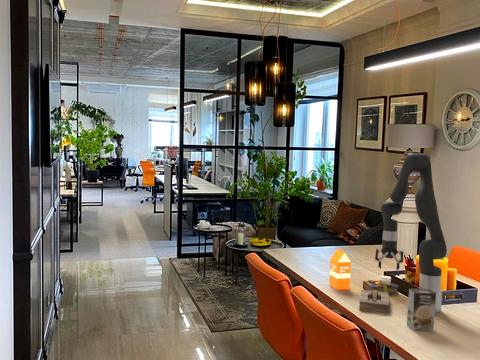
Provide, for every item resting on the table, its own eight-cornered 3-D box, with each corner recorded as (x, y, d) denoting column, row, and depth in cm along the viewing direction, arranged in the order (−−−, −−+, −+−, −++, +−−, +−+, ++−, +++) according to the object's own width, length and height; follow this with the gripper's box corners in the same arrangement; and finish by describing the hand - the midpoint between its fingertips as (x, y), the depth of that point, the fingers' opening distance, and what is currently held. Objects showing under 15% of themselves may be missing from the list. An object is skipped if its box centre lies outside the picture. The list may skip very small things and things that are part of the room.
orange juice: (336, 289, 250) (338, 252, 248) (329, 284, 258) (330, 248, 257) (349, 288, 252) (351, 251, 250) (342, 284, 260) (343, 248, 259)
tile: (380, 279, 255) (381, 275, 255) (390, 280, 254) (390, 276, 254) (380, 284, 246) (380, 280, 246) (390, 285, 244) (390, 281, 244)
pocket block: (360, 297, 238) (361, 289, 238) (388, 300, 234) (388, 292, 234) (359, 310, 219) (359, 301, 219) (388, 313, 216) (389, 304, 215)
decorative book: (362, 288, 254) (362, 279, 253) (390, 288, 256) (391, 279, 256) (371, 295, 243) (371, 285, 242) (400, 294, 245) (401, 285, 245)
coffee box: (412, 331, 195) (414, 293, 194) (406, 325, 202) (408, 288, 201) (434, 331, 196) (436, 293, 194) (427, 325, 202) (429, 288, 201)
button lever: (372, 299, 233) (372, 290, 234) (376, 299, 233) (376, 290, 233) (372, 302, 224) (372, 292, 225) (376, 302, 224) (376, 293, 224)
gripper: (403, 238, 253) (402, 268, 254) (376, 236, 257) (374, 266, 258) (404, 241, 246) (403, 272, 247) (375, 239, 250) (374, 269, 251)
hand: (388, 269), depth 253 cm, fingers open, 8 cm apart
